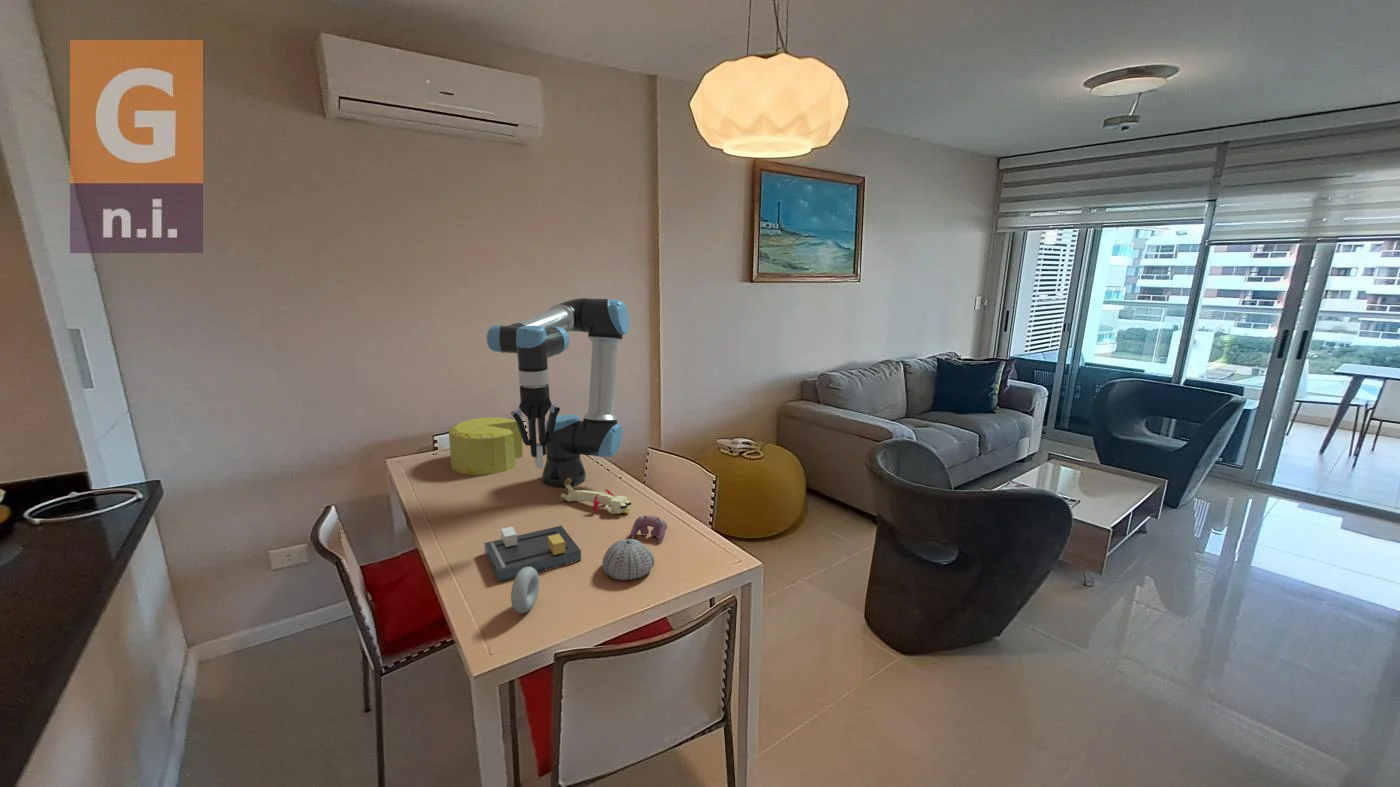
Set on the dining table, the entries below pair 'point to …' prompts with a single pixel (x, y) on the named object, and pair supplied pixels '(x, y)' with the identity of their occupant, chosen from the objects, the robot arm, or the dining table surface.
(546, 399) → the robot arm
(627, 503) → the cream elongated figure
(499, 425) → the cheese
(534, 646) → the dining table surface
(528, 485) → the dining table surface
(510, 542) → the block
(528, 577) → the donut
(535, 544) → the fader console
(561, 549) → the amber block
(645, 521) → the purple arched piece
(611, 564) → the sea urchin shell
